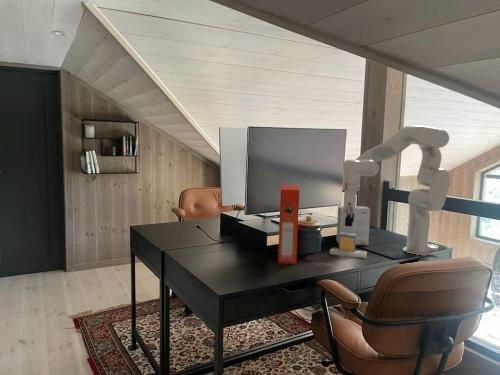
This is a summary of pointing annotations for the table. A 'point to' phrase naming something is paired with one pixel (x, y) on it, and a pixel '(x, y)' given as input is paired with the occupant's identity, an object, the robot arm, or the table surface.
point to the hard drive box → (355, 224)
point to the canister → (308, 236)
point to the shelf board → (348, 253)
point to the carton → (347, 241)
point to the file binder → (288, 224)
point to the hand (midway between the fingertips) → (349, 223)
